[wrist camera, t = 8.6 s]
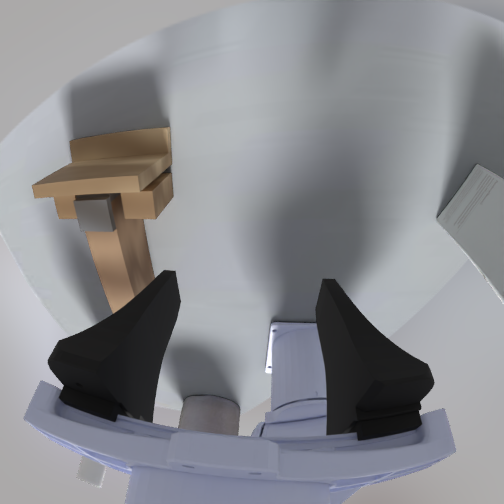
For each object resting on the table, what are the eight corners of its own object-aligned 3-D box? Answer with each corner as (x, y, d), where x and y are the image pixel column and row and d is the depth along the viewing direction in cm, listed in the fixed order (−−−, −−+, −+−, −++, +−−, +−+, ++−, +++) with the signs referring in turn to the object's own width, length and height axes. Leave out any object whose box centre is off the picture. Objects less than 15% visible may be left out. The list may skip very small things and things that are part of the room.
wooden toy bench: (174, 196, 21) (146, 233, 16) (83, 198, 21) (44, 231, 16) (170, 127, 18) (134, 142, 13) (73, 139, 18) (26, 160, 13)
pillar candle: (226, 421, 44) (219, 492, 31) (176, 406, 42) (161, 480, 29) (250, 404, 39) (246, 489, 27) (193, 387, 37) (177, 477, 24)
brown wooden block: (161, 304, 27) (146, 340, 23) (136, 301, 27) (119, 335, 23) (136, 173, 20) (105, 196, 16) (106, 175, 20) (72, 198, 16)
